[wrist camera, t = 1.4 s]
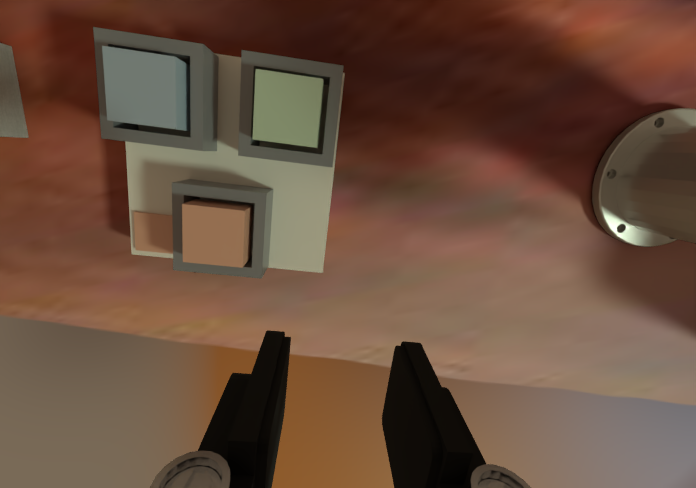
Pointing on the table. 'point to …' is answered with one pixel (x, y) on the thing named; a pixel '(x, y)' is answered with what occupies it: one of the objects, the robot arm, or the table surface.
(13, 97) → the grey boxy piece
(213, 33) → the table surface
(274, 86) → the sage button
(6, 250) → the table surface
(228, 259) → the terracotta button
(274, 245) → the button panel
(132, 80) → the slate button
